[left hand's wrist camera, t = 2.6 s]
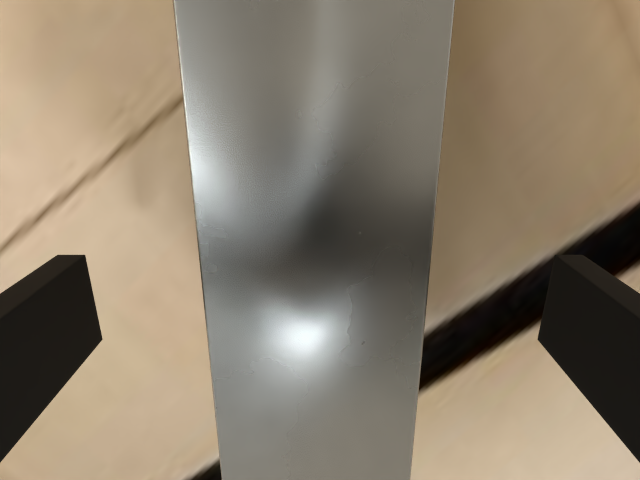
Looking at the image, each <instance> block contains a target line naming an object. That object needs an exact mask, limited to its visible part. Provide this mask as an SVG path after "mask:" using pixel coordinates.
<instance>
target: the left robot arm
mask: <svg viewBox="0 0 640 480" xmlns="http://www.w3.org/2000/svg"><path fill="white" fill-rule="evenodd" d="M101 341H102V335H101V330H100V325H99V320H98V316H97V311H96V306H95V301H94V296H93V291H92V286H91V282H90V277H89V272H88V267H87V262H86V257H85V255H57V256H55V257H54V258H52V259H51V260H49V261H48V262H46V263H45V264H43V265H42V266H41V267H39V268H38V269H36V270H35V271H33V272H32V273H30V274H29V275H27V276H26V277H24V278H23V279H21V280H20V281H18V282H17V283H15V284H14V285H12V286H11V287H10V288H8V289H7V290H5V291H4V292H2V293H1V294H0V462H1V461H2V460H3V459H4V457H5V456H6V455H7V454H8V453H9V451H10V450H11V449H12V448H13V447H14V445H15V444H16V443H17V442H18V441H19V439H20V438H21V437H22V436H23V435H24V433H25V432H26V431H27V430H28V428H29V427H30V426H31V425H32V424H33V422H34V421H35V420H36V419H37V418H38V416H39V415H40V414H41V413H42V412H43V410H44V409H45V408H46V407H47V406H48V404H49V403H50V402H51V401H52V400H53V398H54V397H55V396H56V395H57V394H58V392H59V391H60V390H61V389H62V388H63V386H64V385H65V384H66V383H67V381H68V380H69V379H70V378H71V377H72V375H73V374H74V373H75V372H76V371H77V369H78V368H79V367H80V366H81V365H82V363H83V362H84V361H85V360H86V359H87V357H88V356H89V355H90V354H91V353H92V351H93V350H94V349H95V348H96V347H97V345H98V344H99V343H100V342H101ZM538 341H539V342H540V343H541V344H542V345H543V347H544V348H545V349H546V350H547V351H548V353H549V354H550V355H551V356H552V357H553V359H554V360H555V361H556V362H557V363H558V365H559V366H560V367H561V368H562V369H563V371H564V372H565V373H566V374H567V375H568V377H569V378H570V379H571V380H572V381H573V383H574V384H575V385H576V386H577V388H578V389H579V390H580V391H581V392H582V394H583V395H584V396H585V397H586V398H587V400H588V401H589V402H590V403H591V404H592V406H593V407H594V408H595V409H596V410H597V412H598V413H599V414H600V415H601V416H602V418H603V419H604V420H605V421H606V422H607V424H608V425H609V426H610V427H611V428H612V430H613V431H614V432H615V433H616V435H617V436H618V437H619V438H620V439H621V441H622V442H623V443H624V444H625V445H626V447H627V448H628V449H629V450H630V451H631V453H632V454H633V455H634V456H635V457H636V459H637V460H638V461H639V462H640V294H639V293H638V292H636V291H635V290H633V289H632V288H630V287H629V286H628V285H626V284H625V283H623V282H622V281H620V280H619V279H617V278H616V277H614V276H613V275H611V274H610V273H608V272H607V271H605V270H604V269H602V268H601V267H599V266H598V265H597V264H595V263H594V262H592V261H591V260H589V259H588V258H586V257H585V256H583V255H555V257H554V262H553V267H552V272H551V277H550V282H549V286H548V291H547V296H546V301H545V306H544V311H543V316H542V320H541V325H540V330H539V335H538Z"/></svg>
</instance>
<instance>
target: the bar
mask: <svg viewBox="0 0 640 480" xmlns="http://www.w3.org/2000/svg"><path fill="white" fill-rule="evenodd" d="M173 7H174V16H175V26H176V36H177V46H178V55H179V65H180V75H181V85H182V94H183V104H184V114H185V124H186V133H187V143H188V153H189V163H190V172H191V182H192V192H193V202H194V212H195V221H196V231H197V241H198V251H199V260H200V270H201V280H202V290H203V299H204V309H205V319H206V329H207V338H208V348H209V358H210V368H211V377H212V387H213V397H214V407H215V417H216V426H217V436H218V446H219V456H220V465H221V475H222V480H410V475H411V464H412V453H413V443H414V432H415V422H416V411H417V400H418V390H419V379H420V368H421V358H422V347H423V336H424V326H425V315H426V305H427V294H428V283H429V273H430V262H431V251H432V241H433V230H434V219H435V209H436V198H437V188H438V177H439V166H440V156H441V145H442V134H443V124H444V113H445V102H446V92H447V81H448V71H449V60H450V49H451V39H452V28H453V17H454V7H455V0H173Z"/></svg>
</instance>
